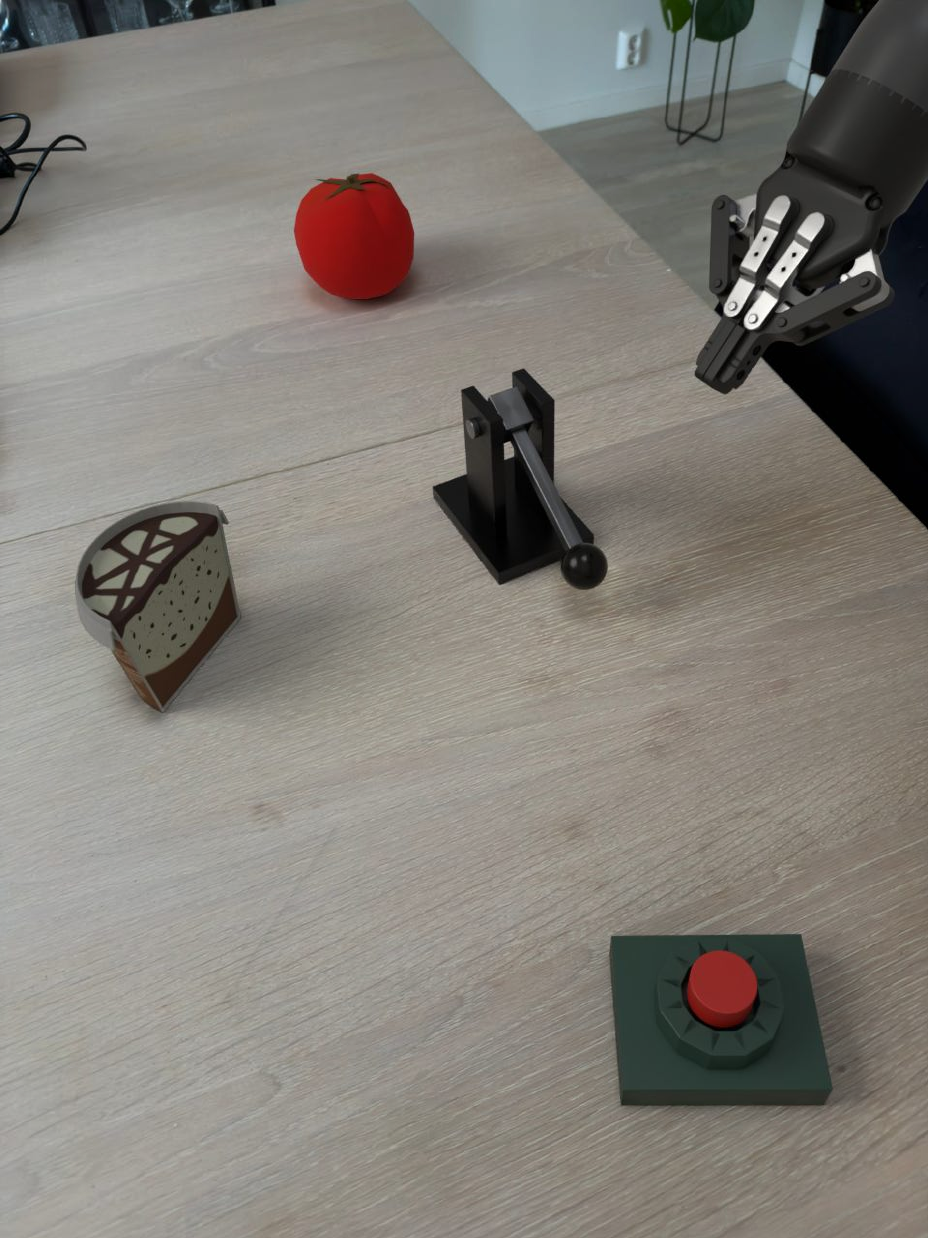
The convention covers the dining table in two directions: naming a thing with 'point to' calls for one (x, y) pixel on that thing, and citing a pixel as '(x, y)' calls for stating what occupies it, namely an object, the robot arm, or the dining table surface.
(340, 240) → the tomato
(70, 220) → the dining table surface
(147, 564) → the cake slice
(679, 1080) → the control block
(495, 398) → the lever
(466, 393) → the black bracket
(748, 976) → the button
